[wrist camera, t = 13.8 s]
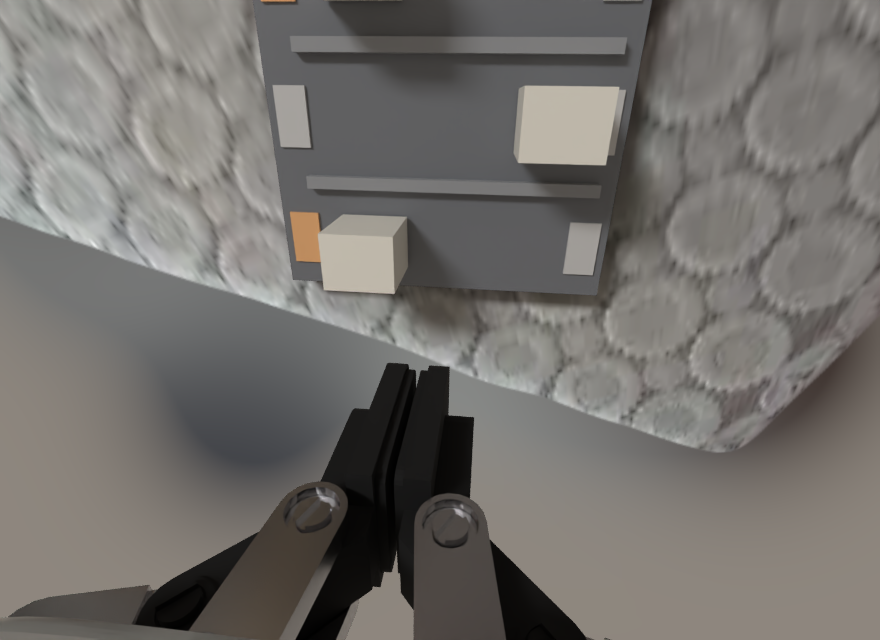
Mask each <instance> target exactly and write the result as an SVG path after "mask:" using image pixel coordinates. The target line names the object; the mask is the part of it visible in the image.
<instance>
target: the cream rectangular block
mask: <svg viewBox="0 0 880 640" xmlns="http://www.w3.org/2000/svg"><path fill="white" fill-rule="evenodd" d="M324 1H402V0H324Z"/></svg>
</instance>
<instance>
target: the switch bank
mask: <svg viewBox="0 0 880 640" xmlns="http://www.w3.org/2000/svg"><path fill="white" fill-rule="evenodd" d="M651 3H652V0H402V1H324V0H253V5H254V12H255V19H256V26H257V33H258V40H259V47H260V54H261V61H262V68H263V75H264V82H265V88H266V95H267V102H268V109H269V116H270V123H271V130H272V137H273V144H274V151H275V158H276V165H277V172H278V179H279V186H280V193H281V200H282V207H283V214H284V221H285V228H286V235H287V241H288V248H289V255H290V262H291V269H292V276H293V280H307V281H323V277H322V268H321V260H320V251H319V242H318V233H319V232H321V231H322V230H323V229H325V228H326V227H327V226H328V225H330V224H331V223H332V222H334V221H335V220H336V219H338V218H339V217H340V216H341V215H343V214H348V215H374V216H400V217H407V238H408V268H407V270H406V272H405V274H404V276H403V278H402V280H401V282H400V284H399V285H404V286H424V287H443V288H463V289H482V290H501V291H521V292H540V293H560V294H579V295H597V290H598V285H599V279H600V274H601V269H602V263H603V258H604V253H605V247H606V242H607V237H608V232H609V226H610V221H611V216H612V210H613V205H614V200H615V194H616V189H617V184H618V178H619V173H620V168H621V163H622V157H623V152H624V147H625V141H626V136H627V131H628V125H629V120H630V115H631V110H632V104H633V99H634V94H635V88H636V83H637V78H638V72H639V67H640V62H641V56H642V51H643V46H644V41H645V35H646V30H647V25H648V19H649V14H650V9H651ZM523 86H599V87H619V93H618V98H617V104H616V110H615V116H614V121H613V127H612V133H611V139H610V144H609V150H608V156H607V162H606V165H574V164H537V163H518V162H517V159H516V157H515V155H514V153H513V152H514V140H515V128H516V116H517V104H518V92H519V88H521V87H523Z"/></svg>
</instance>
